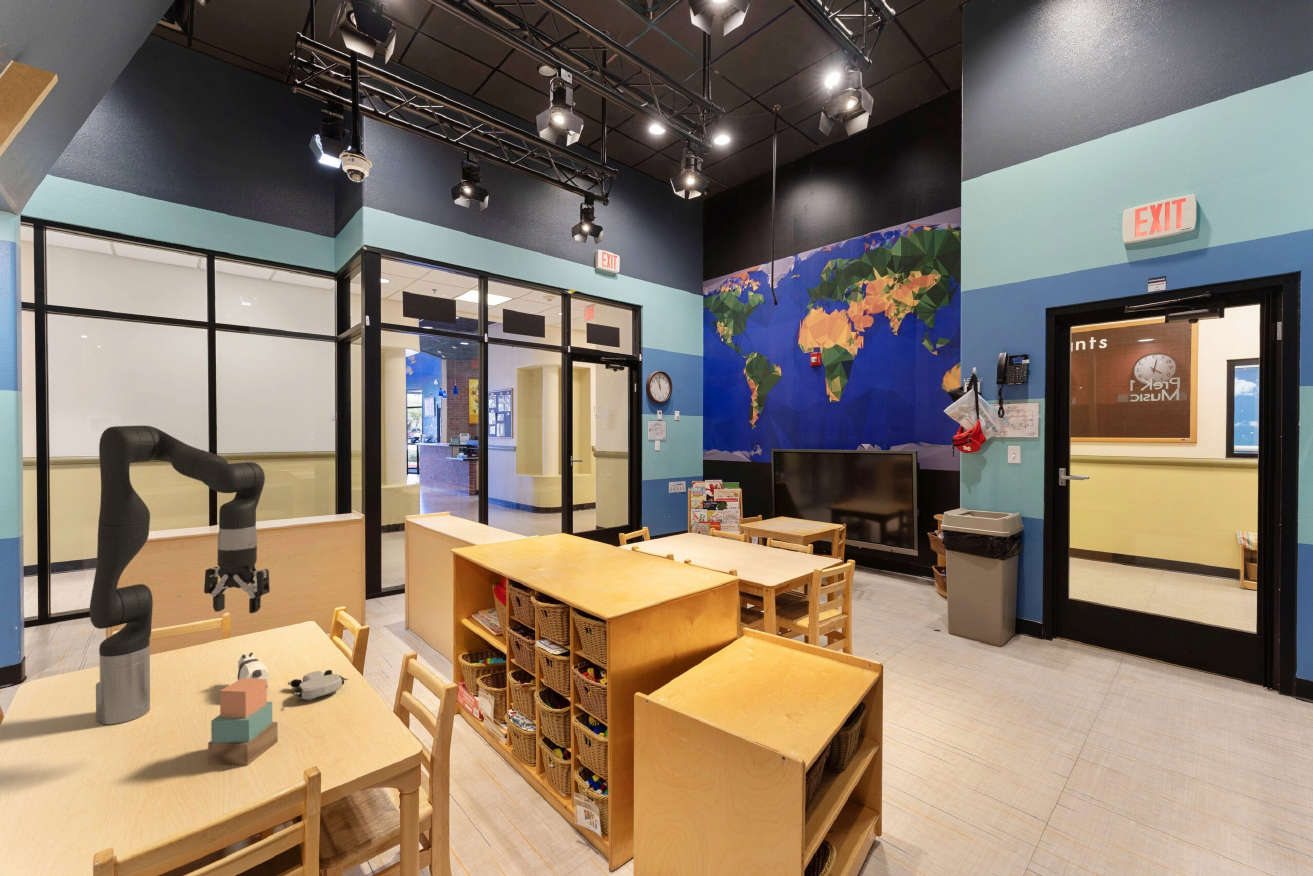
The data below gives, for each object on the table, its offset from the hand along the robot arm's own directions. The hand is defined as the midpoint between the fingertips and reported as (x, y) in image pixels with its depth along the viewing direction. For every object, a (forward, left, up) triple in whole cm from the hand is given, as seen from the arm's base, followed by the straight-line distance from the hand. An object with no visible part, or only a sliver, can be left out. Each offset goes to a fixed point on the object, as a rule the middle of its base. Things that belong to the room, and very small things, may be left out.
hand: (236, 611), depth 131 cm
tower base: (+7, -7, -31) cm, 32 cm away
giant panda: (-13, +21, -31) cm, 39 cm away
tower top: (+7, -7, -26) cm, 27 cm away
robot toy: (+6, +22, -31) cm, 38 cm away
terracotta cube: (+7, -7, -21) cm, 23 cm away
